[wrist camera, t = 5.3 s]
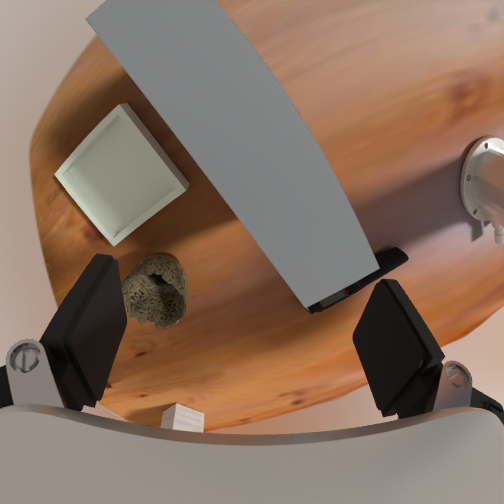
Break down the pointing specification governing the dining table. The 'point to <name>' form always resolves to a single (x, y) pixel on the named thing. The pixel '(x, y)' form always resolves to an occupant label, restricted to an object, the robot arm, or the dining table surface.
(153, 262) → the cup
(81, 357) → the robot arm
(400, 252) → the electric trimmer
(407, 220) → the dining table surface
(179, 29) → the grey sign holder
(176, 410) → the supplement box
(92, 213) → the parts tray
